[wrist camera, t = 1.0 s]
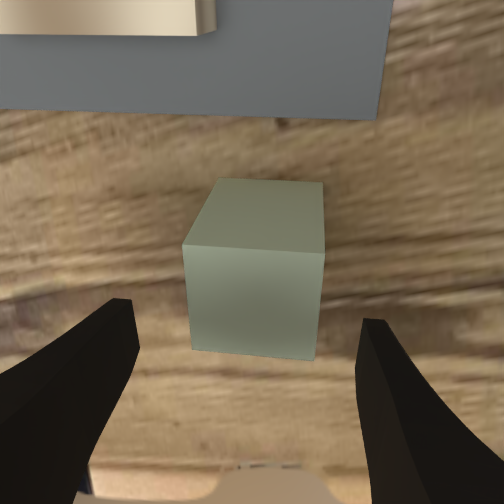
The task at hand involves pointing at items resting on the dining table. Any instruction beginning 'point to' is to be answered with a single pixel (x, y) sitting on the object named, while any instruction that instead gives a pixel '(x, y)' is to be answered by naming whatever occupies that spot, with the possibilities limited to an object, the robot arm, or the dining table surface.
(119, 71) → the mat
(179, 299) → the dining table surface
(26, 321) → the dining table surface
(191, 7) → the base
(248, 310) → the post
